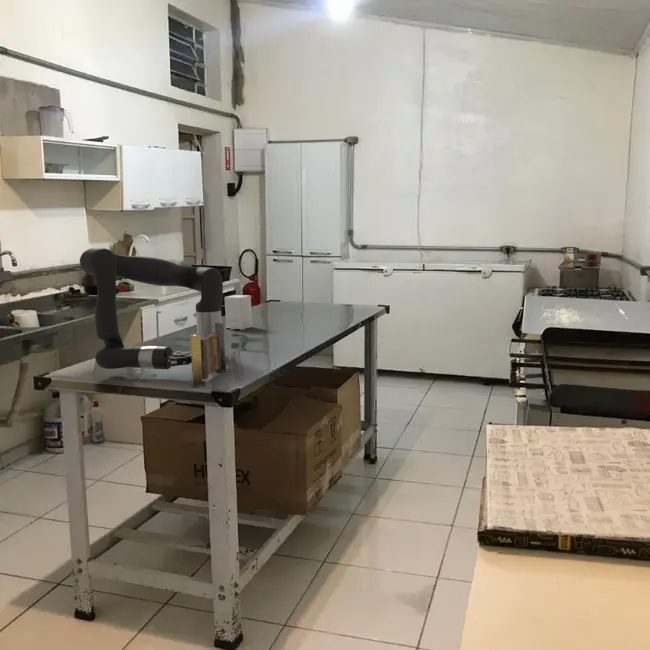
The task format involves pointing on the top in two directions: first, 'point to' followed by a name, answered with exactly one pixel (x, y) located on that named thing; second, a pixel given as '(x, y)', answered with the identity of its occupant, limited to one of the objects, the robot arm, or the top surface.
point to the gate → (210, 354)
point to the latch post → (196, 360)
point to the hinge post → (221, 346)
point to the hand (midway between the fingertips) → (205, 359)
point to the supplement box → (238, 311)
